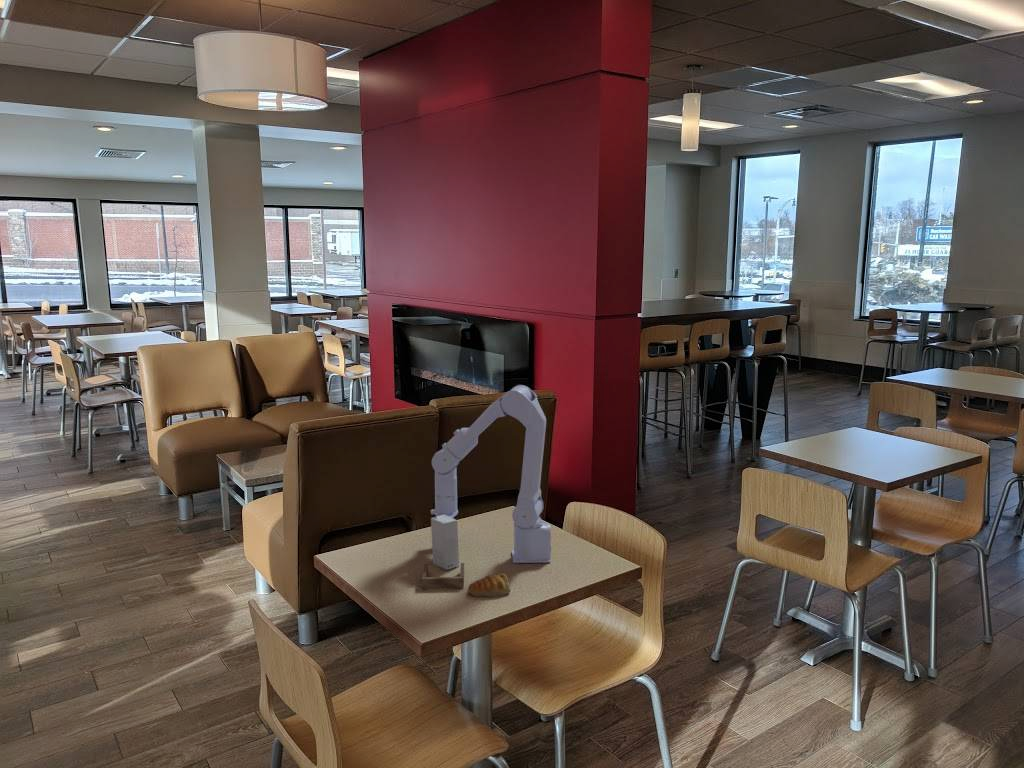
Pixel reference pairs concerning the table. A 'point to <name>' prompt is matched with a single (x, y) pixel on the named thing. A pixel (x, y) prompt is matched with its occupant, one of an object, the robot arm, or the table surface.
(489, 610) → the table surface
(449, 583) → the bottle holder
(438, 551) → the skincare box
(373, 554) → the table surface
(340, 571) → the table surface
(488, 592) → the pastry
